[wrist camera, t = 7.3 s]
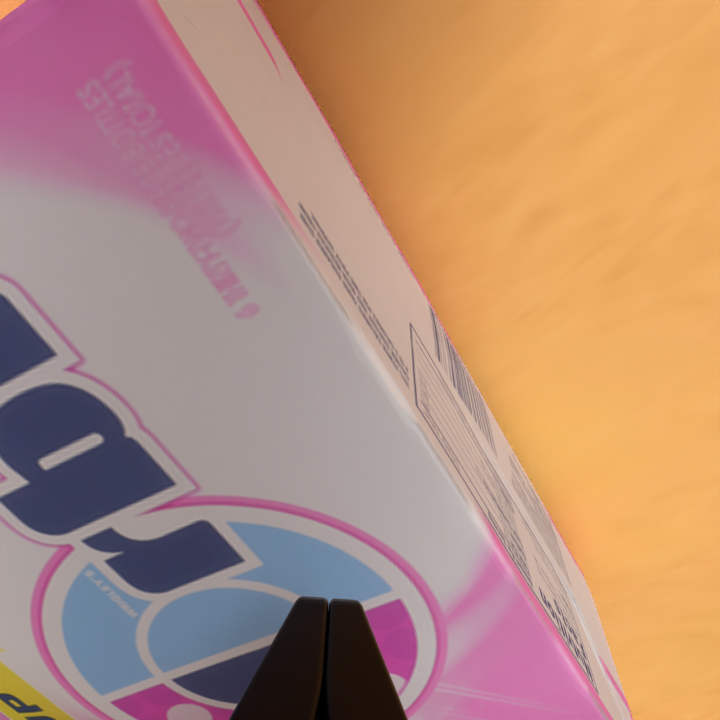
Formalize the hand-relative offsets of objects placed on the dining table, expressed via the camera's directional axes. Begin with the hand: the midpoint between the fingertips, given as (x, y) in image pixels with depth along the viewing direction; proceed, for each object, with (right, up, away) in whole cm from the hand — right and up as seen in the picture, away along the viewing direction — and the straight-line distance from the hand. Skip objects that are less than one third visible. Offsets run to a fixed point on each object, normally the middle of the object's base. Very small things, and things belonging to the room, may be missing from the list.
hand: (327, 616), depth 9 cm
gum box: (+3, +2, +7) cm, 8 cm away
